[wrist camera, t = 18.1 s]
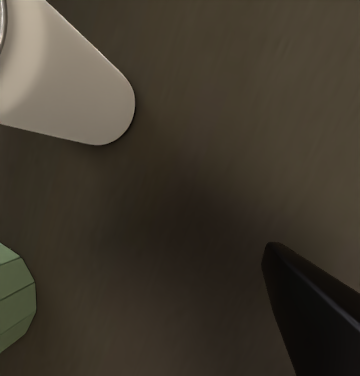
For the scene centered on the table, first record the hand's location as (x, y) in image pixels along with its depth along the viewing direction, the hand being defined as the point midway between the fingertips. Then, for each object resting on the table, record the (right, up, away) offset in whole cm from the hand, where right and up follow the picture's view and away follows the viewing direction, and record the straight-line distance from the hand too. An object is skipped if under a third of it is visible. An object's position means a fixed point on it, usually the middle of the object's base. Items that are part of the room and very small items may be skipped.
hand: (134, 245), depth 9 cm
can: (-5, +9, +13) cm, 16 cm away
